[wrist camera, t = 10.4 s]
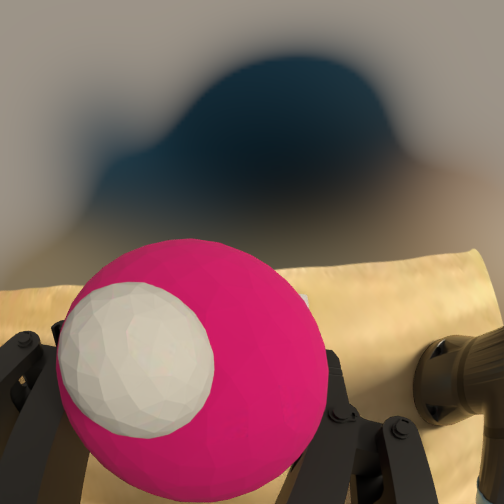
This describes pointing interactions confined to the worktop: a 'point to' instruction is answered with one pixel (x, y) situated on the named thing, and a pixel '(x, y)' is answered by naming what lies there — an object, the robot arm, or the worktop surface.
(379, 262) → the worktop surface
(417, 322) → the worktop surface
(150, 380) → the pepper mill
